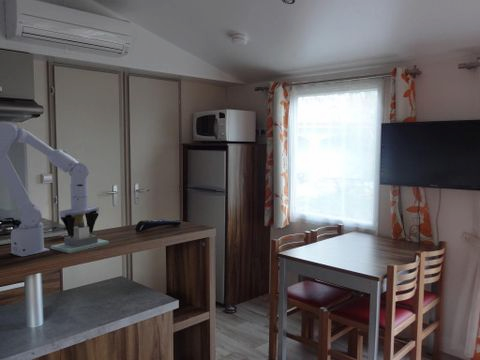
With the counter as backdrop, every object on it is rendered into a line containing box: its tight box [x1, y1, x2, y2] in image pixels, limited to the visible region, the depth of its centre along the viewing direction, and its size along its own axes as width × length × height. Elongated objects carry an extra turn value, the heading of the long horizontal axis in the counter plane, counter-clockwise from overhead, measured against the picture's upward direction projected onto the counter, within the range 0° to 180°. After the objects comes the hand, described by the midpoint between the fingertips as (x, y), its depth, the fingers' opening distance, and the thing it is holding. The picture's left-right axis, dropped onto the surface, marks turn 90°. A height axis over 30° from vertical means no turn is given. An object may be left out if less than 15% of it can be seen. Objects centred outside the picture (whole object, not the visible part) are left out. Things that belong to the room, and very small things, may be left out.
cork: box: [72, 212, 86, 227], centre depth 162 cm, size 6×6×11 cm
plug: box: [73, 222, 90, 239], centre depth 144 cm, size 4×4×8 cm
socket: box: [50, 233, 110, 254], centre depth 145 cm, size 16×11×4 cm
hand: (80, 234), depth 145 cm, fingers open, 7 cm apart
